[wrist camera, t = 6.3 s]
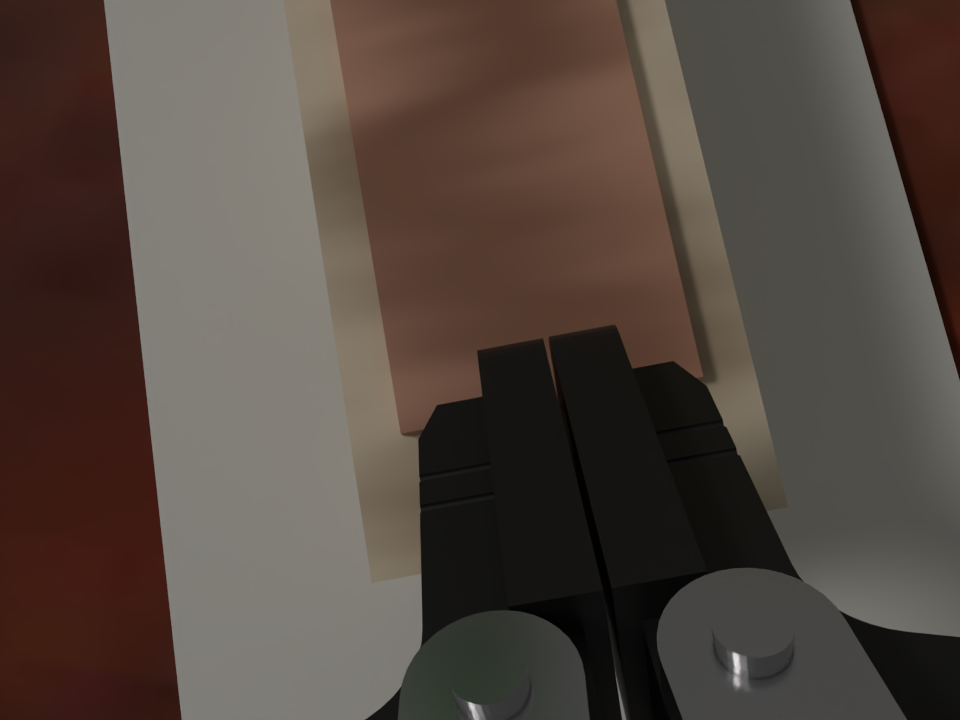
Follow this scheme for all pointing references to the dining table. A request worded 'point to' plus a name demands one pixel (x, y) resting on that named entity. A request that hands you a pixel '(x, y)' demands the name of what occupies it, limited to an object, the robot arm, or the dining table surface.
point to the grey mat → (316, 376)
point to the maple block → (506, 216)
